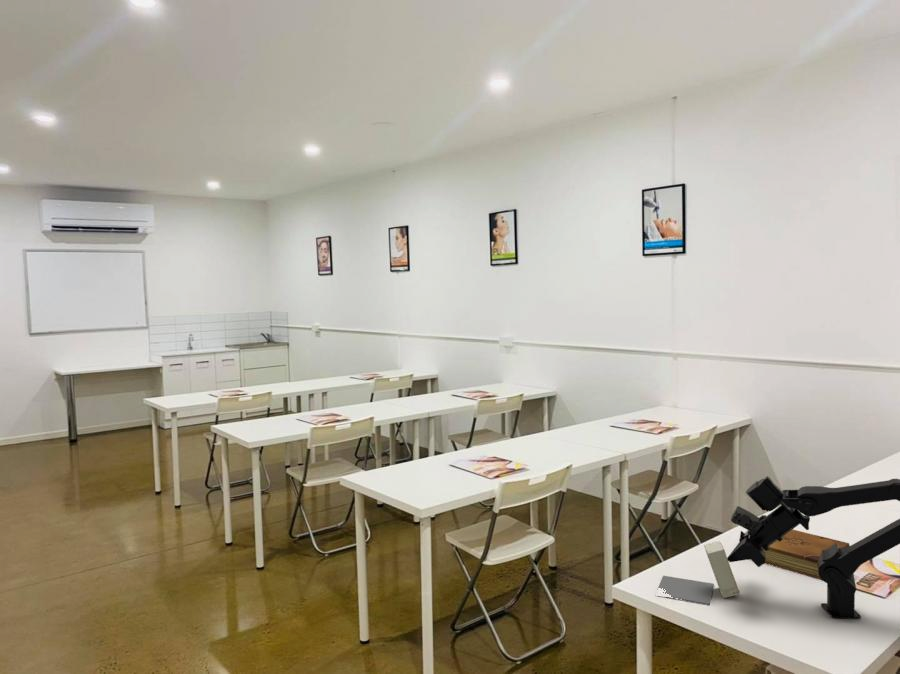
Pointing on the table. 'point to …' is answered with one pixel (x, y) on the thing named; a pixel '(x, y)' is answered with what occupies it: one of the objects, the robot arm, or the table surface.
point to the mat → (687, 589)
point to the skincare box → (721, 569)
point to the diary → (799, 552)
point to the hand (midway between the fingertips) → (728, 560)
